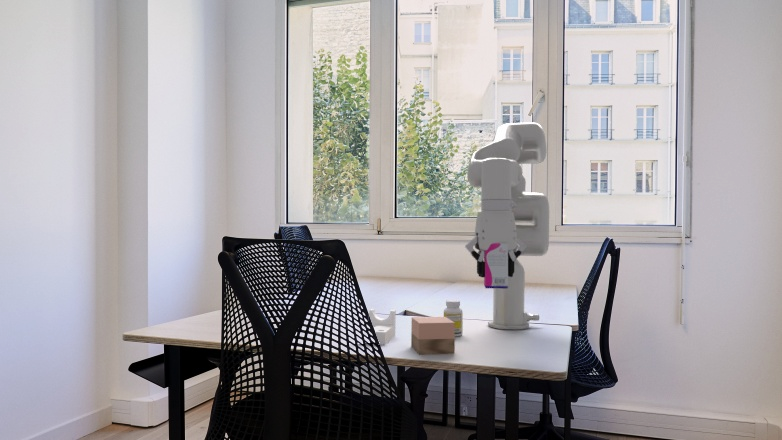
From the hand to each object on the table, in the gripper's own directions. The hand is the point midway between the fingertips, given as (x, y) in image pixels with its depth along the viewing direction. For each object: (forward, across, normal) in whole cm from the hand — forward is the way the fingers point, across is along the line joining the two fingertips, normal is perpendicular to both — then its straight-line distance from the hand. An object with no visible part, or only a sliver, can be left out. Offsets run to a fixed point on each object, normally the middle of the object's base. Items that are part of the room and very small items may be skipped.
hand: (495, 276), depth 155 cm
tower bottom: (+19, +16, -1) cm, 25 cm away
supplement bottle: (+19, +6, -20) cm, 28 cm away
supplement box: (+3, 0, 0) cm, 3 cm away
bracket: (+19, +28, -16) cm, 38 cm away
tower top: (+15, +16, -1) cm, 22 cm away
